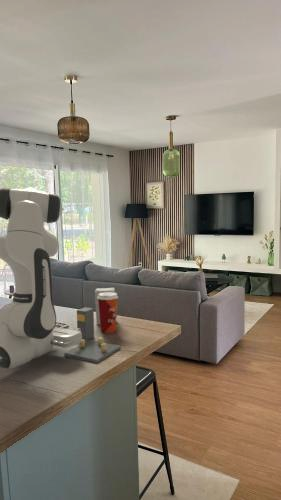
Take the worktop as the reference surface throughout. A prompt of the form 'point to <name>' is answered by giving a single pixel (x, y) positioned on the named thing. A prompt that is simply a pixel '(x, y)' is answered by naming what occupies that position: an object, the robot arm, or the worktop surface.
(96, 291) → the skincare box
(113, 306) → the coffee cup
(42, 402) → the worktop surface
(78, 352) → the slate board
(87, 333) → the plug block
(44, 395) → the worktop surface
